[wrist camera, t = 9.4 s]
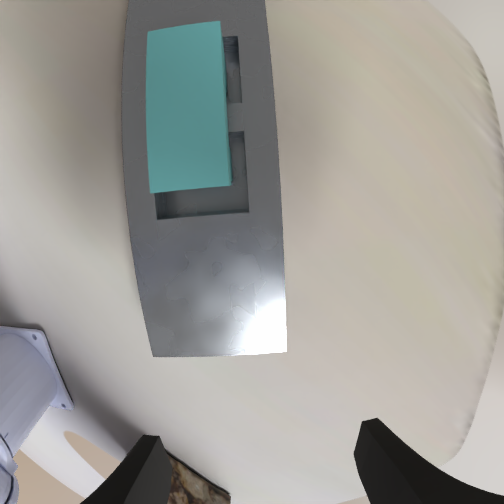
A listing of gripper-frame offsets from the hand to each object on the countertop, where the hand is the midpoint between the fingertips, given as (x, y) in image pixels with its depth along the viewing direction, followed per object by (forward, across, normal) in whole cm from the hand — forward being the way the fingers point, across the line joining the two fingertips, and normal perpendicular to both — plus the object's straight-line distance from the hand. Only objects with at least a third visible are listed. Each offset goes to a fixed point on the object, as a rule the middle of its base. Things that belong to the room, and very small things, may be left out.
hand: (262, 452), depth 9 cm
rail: (+10, +2, -12) cm, 16 cm away
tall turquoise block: (+9, +2, -12) cm, 15 cm away
